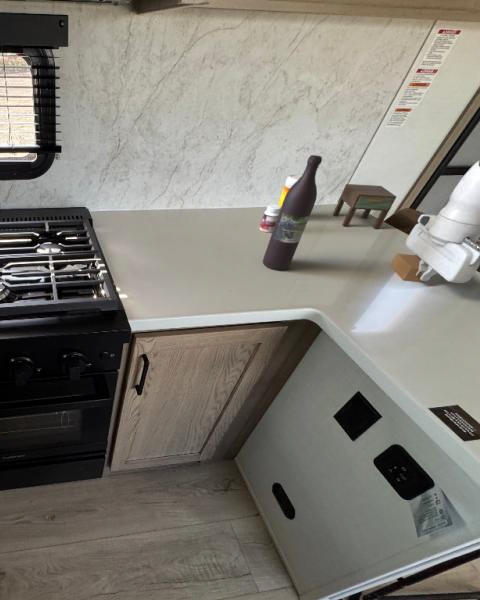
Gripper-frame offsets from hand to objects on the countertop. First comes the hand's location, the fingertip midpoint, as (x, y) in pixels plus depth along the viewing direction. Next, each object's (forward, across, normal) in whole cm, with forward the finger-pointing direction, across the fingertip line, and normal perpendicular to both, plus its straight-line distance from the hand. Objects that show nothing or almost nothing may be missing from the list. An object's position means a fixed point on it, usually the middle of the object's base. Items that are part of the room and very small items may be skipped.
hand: (421, 278), depth 90 cm
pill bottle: (+2, +28, +32) cm, 43 cm away
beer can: (+2, +40, +24) cm, 47 cm away
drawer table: (+2, +42, -1) cm, 42 cm away
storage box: (+2, +6, 0) cm, 6 cm away
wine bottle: (+2, +4, +34) cm, 35 cm away
